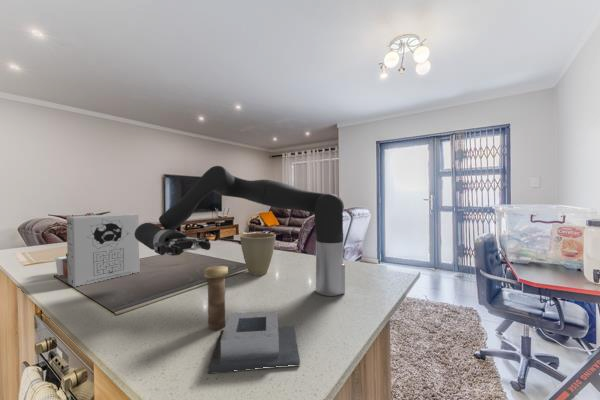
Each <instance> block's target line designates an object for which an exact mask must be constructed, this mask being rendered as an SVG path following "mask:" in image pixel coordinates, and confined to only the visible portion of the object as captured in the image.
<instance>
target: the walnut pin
mask: <svg viewBox="0 0 600 400" xmlns="http://www.w3.org/2000/svg"><path fill="white" fill-rule="evenodd" d="M203 274H204V278H206V279H207V315H208V316H207V317H208V318H207V323H208V325H207V327H208V328H207V329H208V330H210V331H213V332H214V331H221V330H223V329H225V326H226V289H225V288H226V281H225V280H226V277H227V276H228V275H229V267H228V266H226V265H213V266H209V267H206V268H204V272H203Z"/></svg>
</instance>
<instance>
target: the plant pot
mask: <svg viewBox="0 0 600 400" xmlns="http://www.w3.org/2000/svg"><path fill="white" fill-rule="evenodd" d="M276 237H277V235H276V234H275V233H270V232H269V233H268V232H255V233H253V232H252V233H244V234H240V236H239V239H240V245H241V252H242V255H243V259H244V262H245V265H246V268H247V272H248V274H249V275H250V276H264V275H266V274H267V273H268V270H269V268H270V265H271V262H272V259H273V254H274V251H275V245H276Z"/></svg>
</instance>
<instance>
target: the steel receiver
mask: <svg viewBox="0 0 600 400" xmlns="http://www.w3.org/2000/svg"><path fill="white" fill-rule="evenodd" d="M278 321H279V320H278V311H275V310H274V311H259V312H239V313H229V315H228V318H227V321H226V322H225V327H224V328H223V329H220V332H219V336H218V339H217V341H216V344H215V347H214V348H213V349H214V350H213V353H212V356H211V358H210V361H209V364H208V367H207V373H208V374H213V373H212V372H221V373H226V372H225V371H233V372H235V371H234V370H246V369H255V368H263V367H276V366H288V365H300V366H301V364H300V363H301V360H300V354H299V348H298V343H297V337H296V331H295V327H294V325H289V326H287V325H286V326H279V322H278ZM223 371H224V372H223ZM246 371H247V370H246Z"/></svg>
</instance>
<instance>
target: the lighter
mask: <svg viewBox="0 0 600 400" xmlns="http://www.w3.org/2000/svg"><path fill="white" fill-rule="evenodd" d="M65 256H66V257H67V252H66V253H65ZM62 261H63V276H62V279H64V278H65V279H68V257H67V258H65V259H62Z"/></svg>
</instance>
